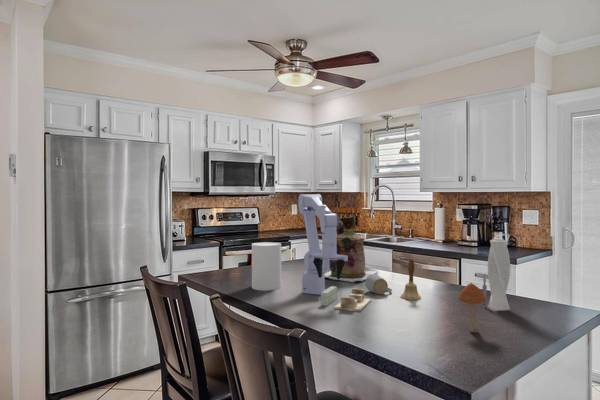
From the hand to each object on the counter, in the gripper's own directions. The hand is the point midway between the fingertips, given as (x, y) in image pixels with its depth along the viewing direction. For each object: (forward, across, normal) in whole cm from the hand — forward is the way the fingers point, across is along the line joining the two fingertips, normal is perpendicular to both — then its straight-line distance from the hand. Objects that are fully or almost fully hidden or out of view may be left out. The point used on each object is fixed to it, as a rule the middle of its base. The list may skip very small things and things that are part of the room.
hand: (329, 278), depth 158 cm
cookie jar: (+10, -7, +50) cm, 51 cm away
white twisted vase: (+10, +61, +15) cm, 64 cm away
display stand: (+9, +10, -1) cm, 14 cm away
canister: (+10, -35, +13) cm, 39 cm away
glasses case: (+10, 0, 0) cm, 10 cm away
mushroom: (+10, +52, -16) cm, 55 cm away
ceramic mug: (+10, +15, +22) cm, 29 cm away
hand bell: (+10, +29, +19) cm, 36 cm away
